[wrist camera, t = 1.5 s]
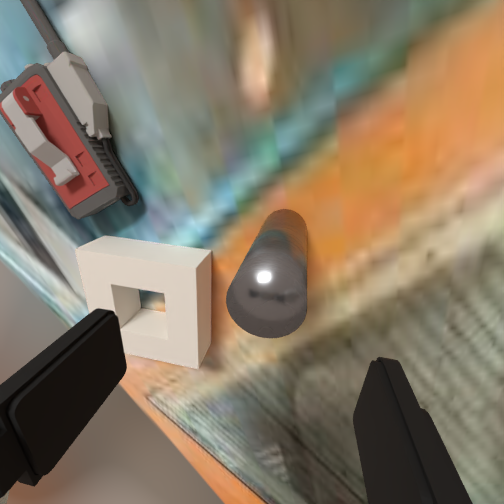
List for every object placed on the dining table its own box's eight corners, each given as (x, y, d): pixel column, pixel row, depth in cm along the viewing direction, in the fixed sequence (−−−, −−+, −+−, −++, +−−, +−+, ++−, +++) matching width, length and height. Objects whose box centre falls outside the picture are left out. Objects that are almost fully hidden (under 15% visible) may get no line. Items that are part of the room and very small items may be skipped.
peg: (309, 212, 22) (312, 276, 11) (303, 253, 24) (300, 344, 13) (264, 207, 23) (227, 263, 12) (261, 248, 25) (225, 330, 14)
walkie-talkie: (162, 190, 25) (23, -52, 19) (135, 199, 21) (-50, -102, 15) (101, 224, 28) (-35, 22, 22) (66, 238, 24) (-109, -4, 18)
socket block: (211, 250, 26) (195, 267, 22) (211, 342, 30) (198, 369, 27) (105, 235, 27) (74, 249, 24) (120, 324, 32) (97, 347, 29)
